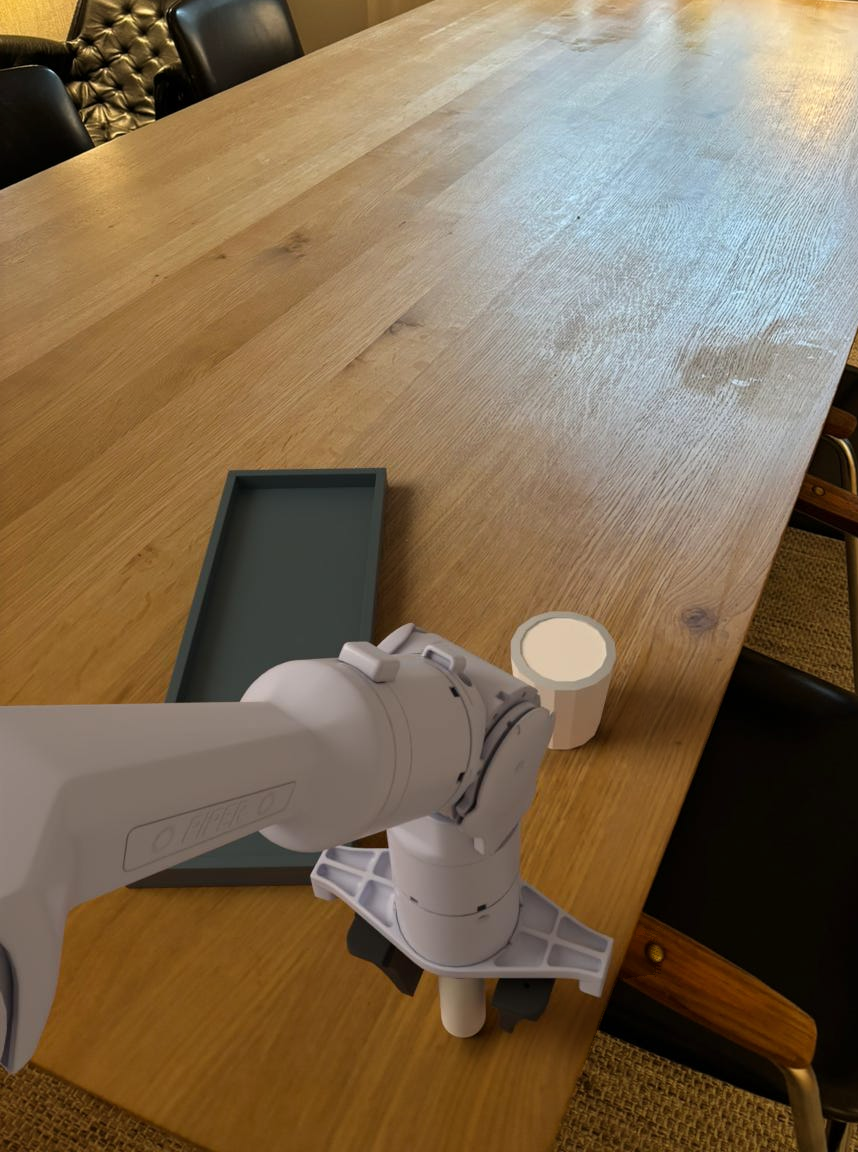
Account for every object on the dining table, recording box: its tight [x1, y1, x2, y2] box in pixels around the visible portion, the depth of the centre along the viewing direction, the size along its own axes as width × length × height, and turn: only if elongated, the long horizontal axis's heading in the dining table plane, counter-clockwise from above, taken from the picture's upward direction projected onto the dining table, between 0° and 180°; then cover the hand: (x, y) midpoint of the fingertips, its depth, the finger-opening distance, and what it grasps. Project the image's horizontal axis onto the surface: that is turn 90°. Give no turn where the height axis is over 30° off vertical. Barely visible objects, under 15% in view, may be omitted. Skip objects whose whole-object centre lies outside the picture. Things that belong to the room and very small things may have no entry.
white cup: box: [510, 610, 617, 750], centre depth 68 cm, size 7×7×7 cm
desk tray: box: [125, 467, 389, 889], centre depth 75 cm, size 38×14×2 cm, turn 1°
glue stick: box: [437, 975, 487, 1039], centre depth 53 cm, size 3×3×9 cm
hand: (462, 994), depth 54 cm, fingers open, 5 cm apart
